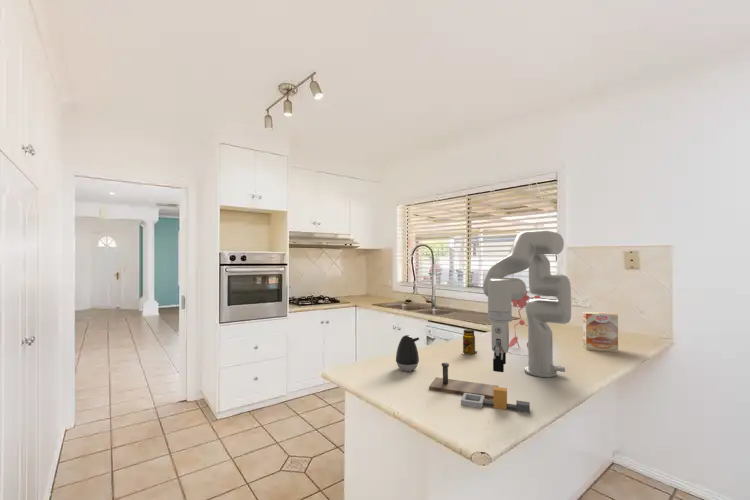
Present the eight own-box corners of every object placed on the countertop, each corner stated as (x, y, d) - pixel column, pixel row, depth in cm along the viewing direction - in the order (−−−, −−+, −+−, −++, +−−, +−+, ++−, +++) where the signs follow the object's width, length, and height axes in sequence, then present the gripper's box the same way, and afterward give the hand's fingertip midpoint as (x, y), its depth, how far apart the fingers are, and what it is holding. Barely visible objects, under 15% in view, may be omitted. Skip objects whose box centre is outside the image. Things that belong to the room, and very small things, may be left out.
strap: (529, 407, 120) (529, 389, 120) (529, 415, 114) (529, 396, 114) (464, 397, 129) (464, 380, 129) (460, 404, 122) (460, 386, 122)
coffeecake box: (586, 350, 191) (585, 313, 191) (582, 346, 198) (582, 311, 198) (618, 352, 187) (618, 314, 187) (614, 348, 193) (613, 312, 194)
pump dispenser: (418, 373, 154) (418, 338, 154) (394, 372, 156) (394, 337, 156) (420, 366, 164) (420, 333, 164) (397, 365, 166) (397, 332, 166)
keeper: (498, 388, 136) (498, 365, 137) (495, 399, 126) (495, 374, 126) (436, 380, 146) (436, 358, 146) (429, 389, 136) (428, 366, 136)
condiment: (461, 354, 184) (461, 330, 184) (463, 350, 192) (463, 327, 192) (476, 355, 181) (476, 331, 181) (477, 351, 189) (477, 328, 189)
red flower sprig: (507, 343, 205) (506, 282, 205) (549, 354, 183) (548, 285, 183) (488, 348, 197) (487, 284, 197) (531, 359, 175) (529, 287, 175)
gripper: (510, 320, 111) (510, 376, 111) (512, 313, 127) (512, 362, 127) (484, 319, 114) (484, 373, 114) (490, 311, 130) (490, 359, 130)
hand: (499, 367), depth 120 cm, fingers open, 9 cm apart
